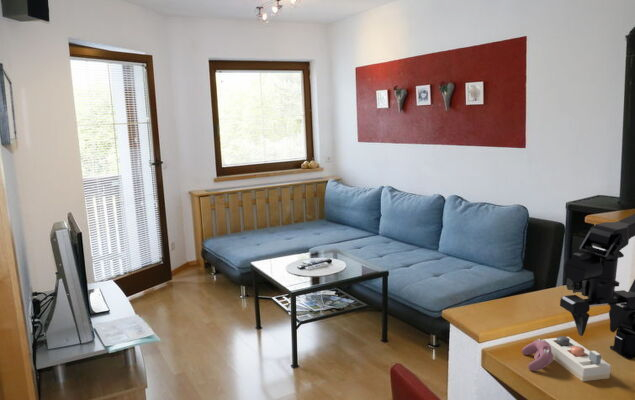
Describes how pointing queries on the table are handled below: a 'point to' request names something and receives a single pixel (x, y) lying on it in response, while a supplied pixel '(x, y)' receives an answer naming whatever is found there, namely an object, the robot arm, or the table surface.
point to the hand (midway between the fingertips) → (596, 333)
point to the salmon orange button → (577, 351)
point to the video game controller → (539, 354)
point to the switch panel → (578, 362)
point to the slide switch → (595, 357)
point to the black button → (563, 341)
